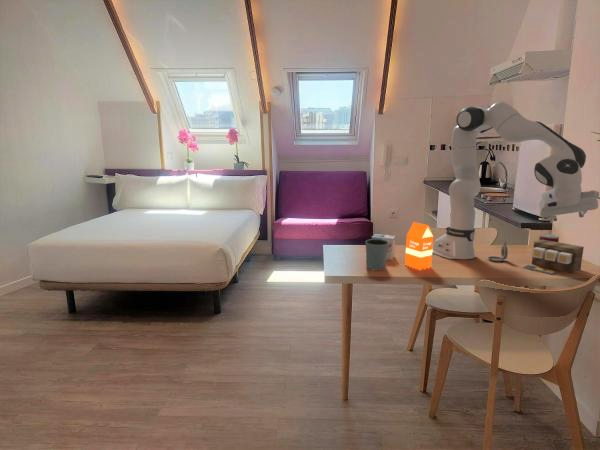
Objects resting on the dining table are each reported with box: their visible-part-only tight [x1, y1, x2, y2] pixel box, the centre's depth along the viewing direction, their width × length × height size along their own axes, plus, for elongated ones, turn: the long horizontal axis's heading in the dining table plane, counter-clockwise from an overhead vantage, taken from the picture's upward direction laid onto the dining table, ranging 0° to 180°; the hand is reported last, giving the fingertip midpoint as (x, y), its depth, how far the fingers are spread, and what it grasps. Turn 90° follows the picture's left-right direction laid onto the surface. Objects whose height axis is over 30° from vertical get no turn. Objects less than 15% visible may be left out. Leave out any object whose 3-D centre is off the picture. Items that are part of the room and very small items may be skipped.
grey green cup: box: [365, 238, 388, 271], centre depth 184 cm, size 10×10×12 cm
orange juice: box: [404, 221, 434, 271], centre depth 184 cm, size 8×9×20 cm
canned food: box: [538, 233, 560, 242], centre depth 199 cm, size 8×8×11 cm
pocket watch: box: [487, 240, 508, 263], centre depth 194 cm, size 8×8×10 cm
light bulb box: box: [371, 233, 396, 261], centre depth 200 cm, size 11×7×11 cm, turn 68°
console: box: [531, 239, 585, 274], centre depth 185 cm, size 17×8×10 cm, turn 38°
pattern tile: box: [522, 264, 558, 276], centre depth 181 cm, size 12×5×1 cm, turn 38°
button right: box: [557, 251, 574, 264], centre depth 178 cm, size 4×7×4 cm, turn 128°
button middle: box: [545, 249, 560, 261], centre depth 182 cm, size 4×7×4 cm, turn 128°
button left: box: [531, 246, 548, 259], centre depth 186 cm, size 4×7×4 cm, turn 128°
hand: (567, 218), depth 169 cm, fingers open, 8 cm apart
